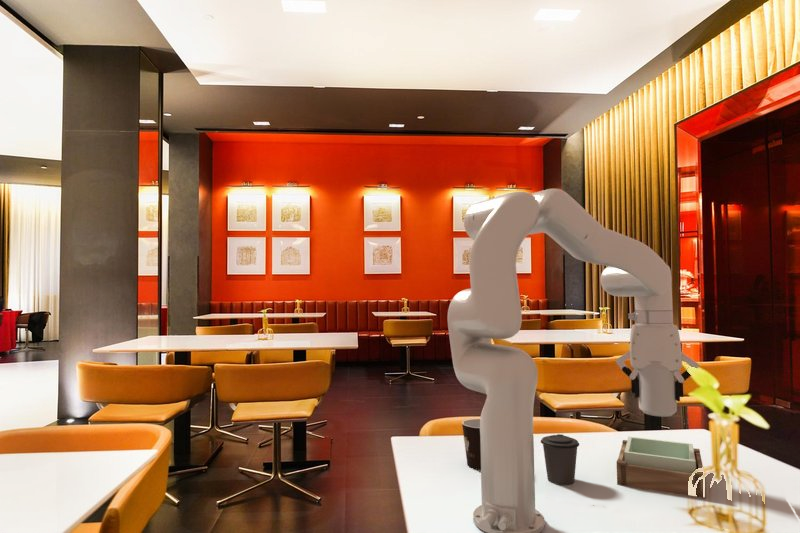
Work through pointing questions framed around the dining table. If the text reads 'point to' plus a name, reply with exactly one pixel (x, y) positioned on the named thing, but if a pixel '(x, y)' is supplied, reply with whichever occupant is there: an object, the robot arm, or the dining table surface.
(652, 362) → the can
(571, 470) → the coffee cup
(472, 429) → the coffee mug
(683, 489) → the walnut crate
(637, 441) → the sage crate
